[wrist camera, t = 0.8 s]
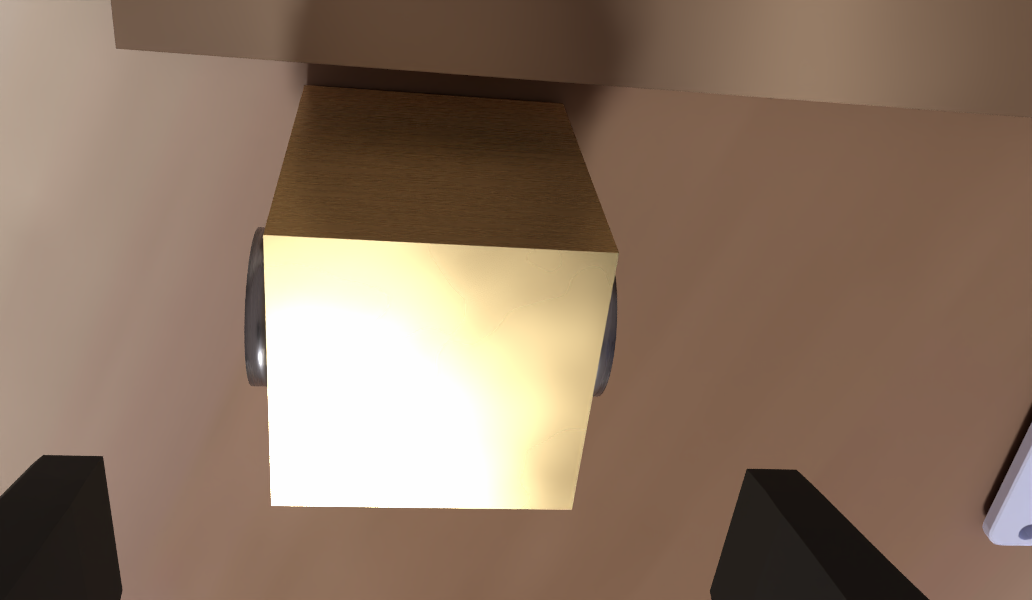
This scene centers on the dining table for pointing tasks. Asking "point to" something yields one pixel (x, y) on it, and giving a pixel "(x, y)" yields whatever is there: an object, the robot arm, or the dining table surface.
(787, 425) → the dining table surface
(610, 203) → the dining table surface
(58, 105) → the dining table surface
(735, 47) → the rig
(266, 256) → the block
